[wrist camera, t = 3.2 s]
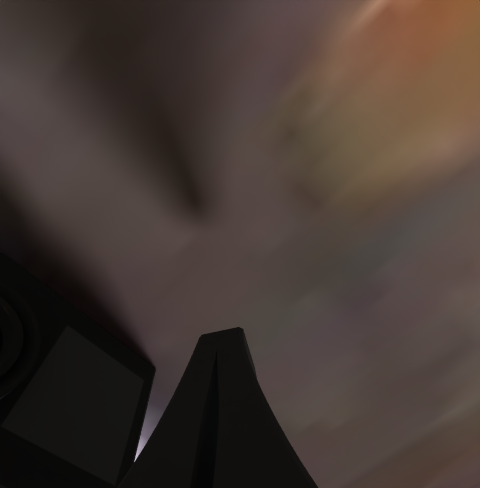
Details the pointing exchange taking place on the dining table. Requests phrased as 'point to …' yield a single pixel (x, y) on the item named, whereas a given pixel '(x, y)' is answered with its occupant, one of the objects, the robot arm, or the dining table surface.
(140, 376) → the digital camera
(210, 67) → the dining table surface
